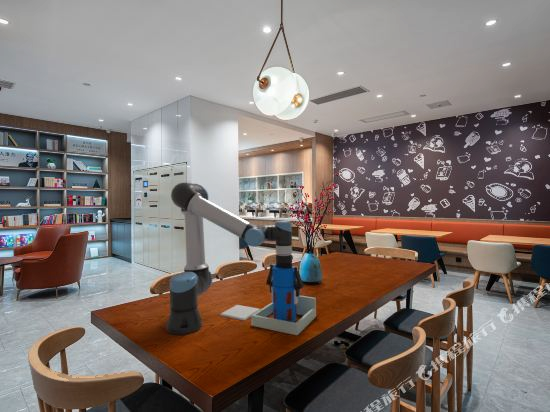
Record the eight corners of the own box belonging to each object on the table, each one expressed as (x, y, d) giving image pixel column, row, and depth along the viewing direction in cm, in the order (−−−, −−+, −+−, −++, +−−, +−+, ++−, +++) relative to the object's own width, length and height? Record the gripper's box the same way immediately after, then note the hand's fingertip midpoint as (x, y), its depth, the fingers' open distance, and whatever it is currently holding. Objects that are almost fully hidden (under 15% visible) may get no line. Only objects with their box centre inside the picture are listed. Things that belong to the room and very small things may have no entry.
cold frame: (297, 335, 123) (297, 313, 123) (251, 325, 133) (251, 305, 133) (316, 316, 143) (315, 297, 142) (274, 309, 153) (274, 291, 153)
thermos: (298, 317, 142) (297, 265, 141) (293, 326, 131) (293, 270, 131) (276, 315, 145) (275, 264, 144) (270, 324, 134) (269, 269, 134)
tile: (244, 320, 139) (244, 318, 139) (220, 315, 145) (220, 313, 145) (259, 310, 151) (259, 308, 151) (237, 306, 158) (237, 304, 158)
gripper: (310, 254, 135) (311, 302, 136) (266, 251, 146) (266, 295, 147) (304, 257, 129) (304, 308, 129) (258, 253, 140) (258, 300, 140)
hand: (284, 301), depth 138 cm, fingers closed on thermos, 11 cm apart
